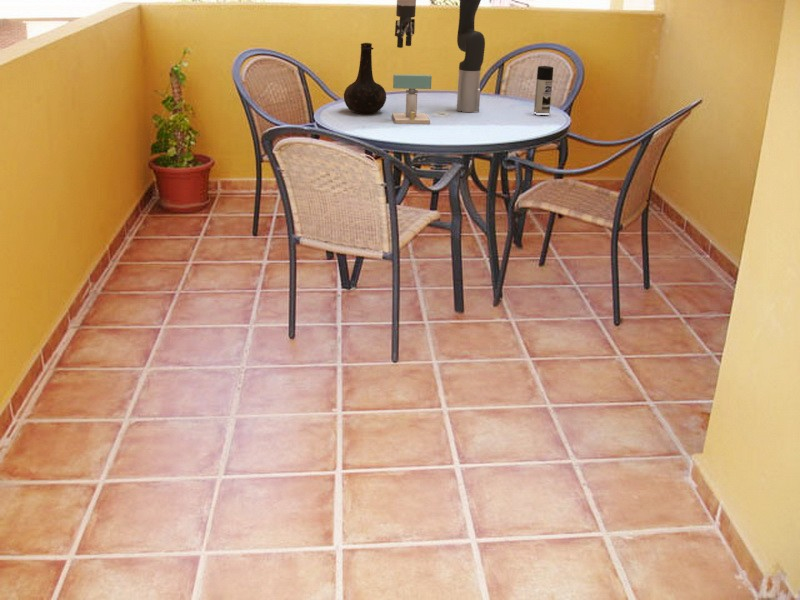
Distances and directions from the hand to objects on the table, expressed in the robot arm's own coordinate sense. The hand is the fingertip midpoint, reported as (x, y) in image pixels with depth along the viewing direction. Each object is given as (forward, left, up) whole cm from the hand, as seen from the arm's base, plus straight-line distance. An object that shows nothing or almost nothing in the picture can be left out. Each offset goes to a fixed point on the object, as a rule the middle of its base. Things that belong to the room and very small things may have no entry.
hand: (404, 46), depth 339 cm
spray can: (-61, -7, -28) cm, 67 cm away
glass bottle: (+15, -8, -28) cm, 33 cm away
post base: (-3, +8, -28) cm, 29 cm away
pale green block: (-3, +8, -17) cm, 19 cm away
